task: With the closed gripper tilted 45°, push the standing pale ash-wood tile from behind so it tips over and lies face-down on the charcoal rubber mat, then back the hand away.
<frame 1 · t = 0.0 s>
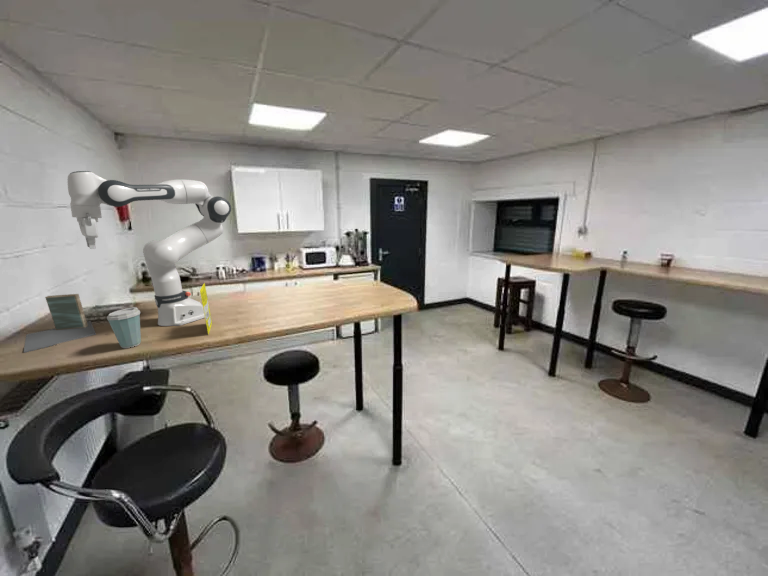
hand: (91, 247, 132), 39 cm above the table, tool pointing down, fingers open, 8 cm apart
food package: (210, 329, 147), on the table
ash tile: (72, 327, 152), resting on charcoal mat
charcoal mat: (61, 335, 145), on the table
disposable coffee cup: (131, 345, 133), on the table
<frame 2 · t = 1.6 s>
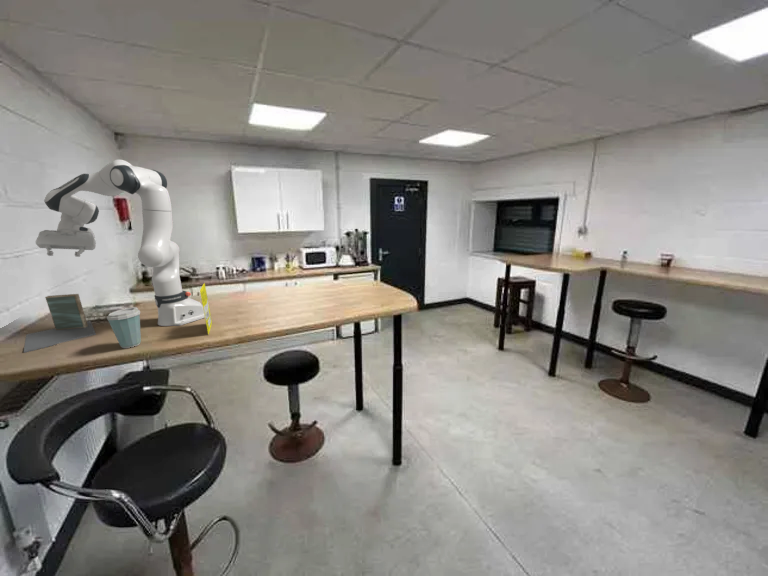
hand: (63, 255, 149), 34 cm above the table, tool tilted 45°, fingers open, 8 cm apart
nothing on the table moved.
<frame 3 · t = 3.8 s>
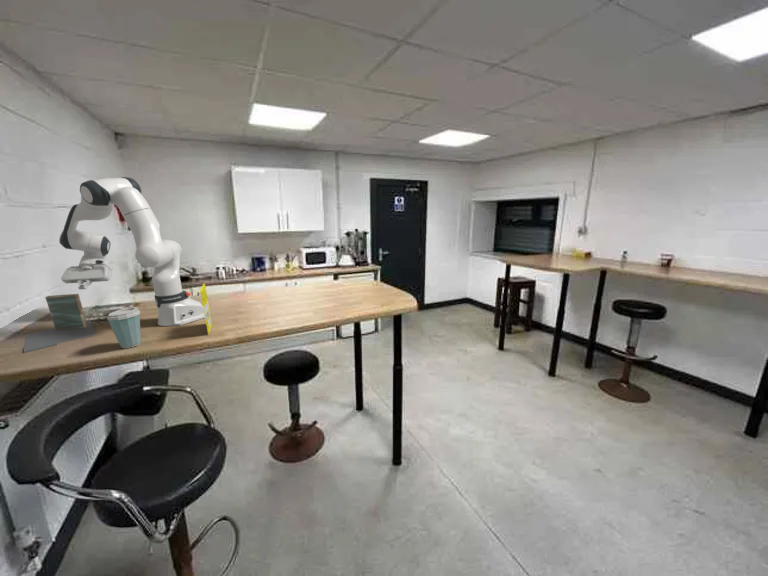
hand: (82, 288, 160), 16 cm above the table, tool tilted 45°, fingers closed
nothing on the table moved.
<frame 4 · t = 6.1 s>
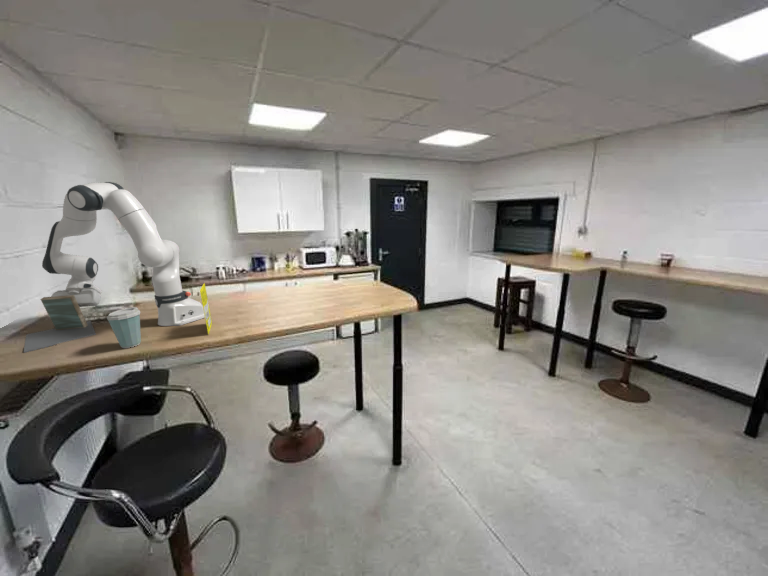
hand: (69, 314, 151), 7 cm above the table, tool tilted 45°, fingers closed
ash tile: (72, 327, 152), point 1 cm above the table, tilted 9°, touching charcoal mat
everything else where it was.
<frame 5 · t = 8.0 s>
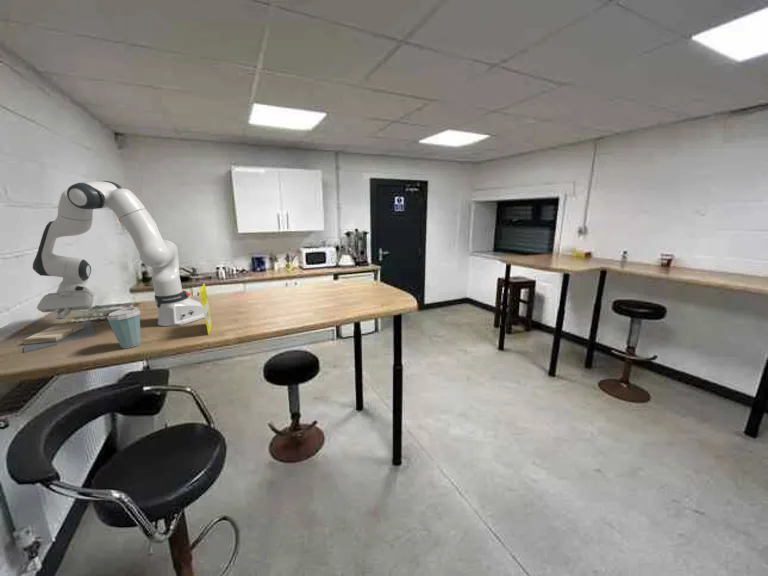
hand: (60, 318, 146), 7 cm above the table, tool tilted 45°, fingers closed
ash tile: (69, 326, 151), point 2 cm above the table, tilted 90°, touching charcoal mat
everything else where it was.
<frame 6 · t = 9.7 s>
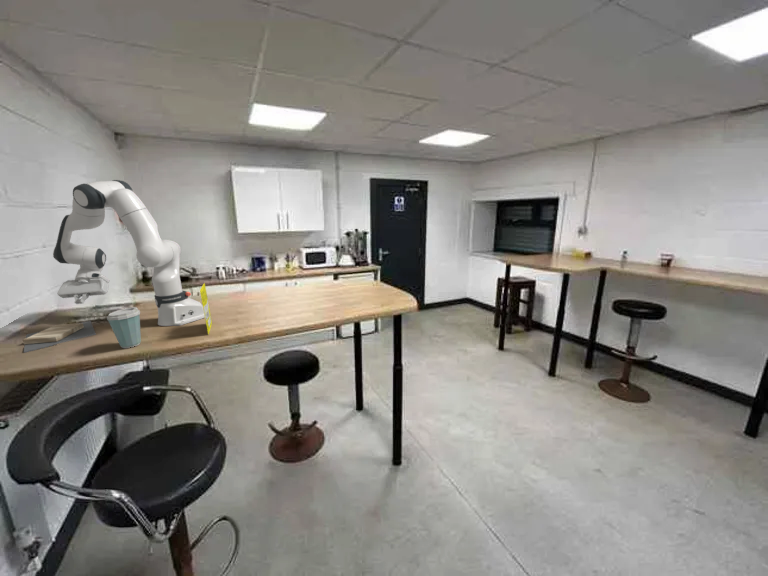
hand: (78, 303, 157), 10 cm above the table, tool tilted 45°, fingers closed
nothing on the table moved.
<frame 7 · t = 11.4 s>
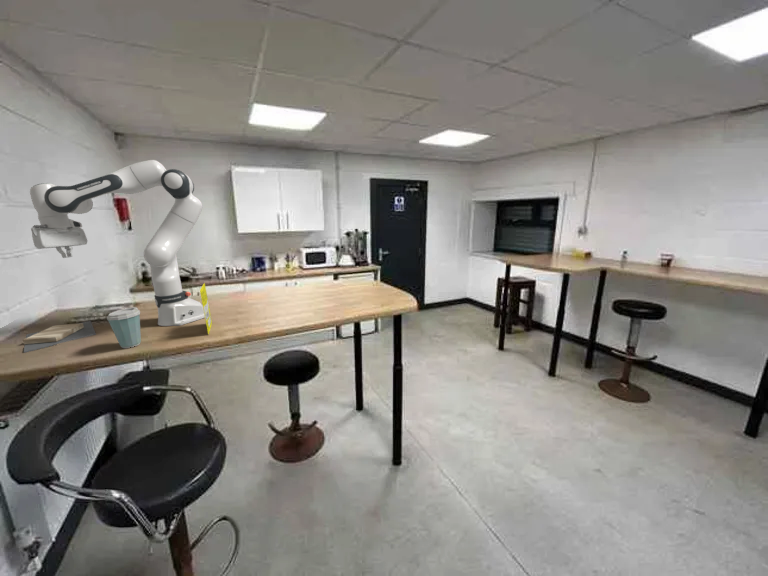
hand: (67, 257, 138), 35 cm above the table, tool pointing down, fingers closed
nothing on the table moved.
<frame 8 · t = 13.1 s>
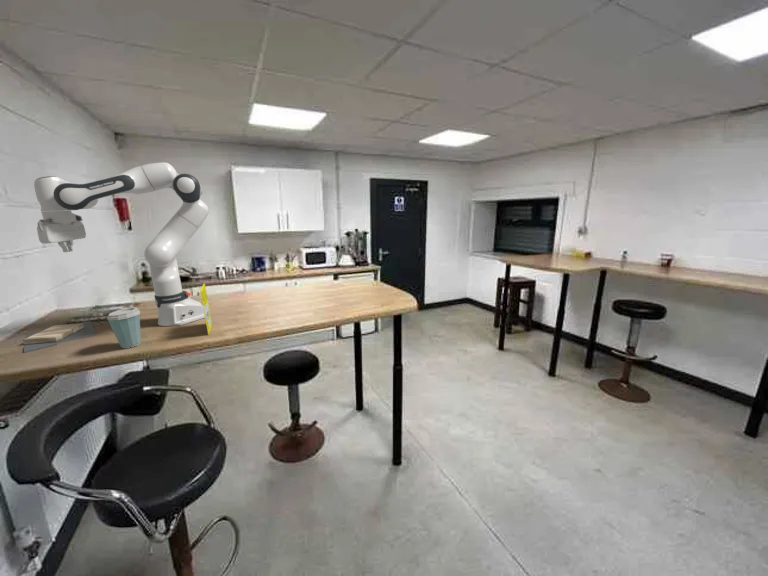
hand: (68, 251, 136), 37 cm above the table, tool pointing down, fingers closed
nothing on the table moved.
at the end: ash tile tilted 90°; ash tile touching charcoal mat; ash tile inside the target area (1.2 cm from its centre), point 1.8 cm above the table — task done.
